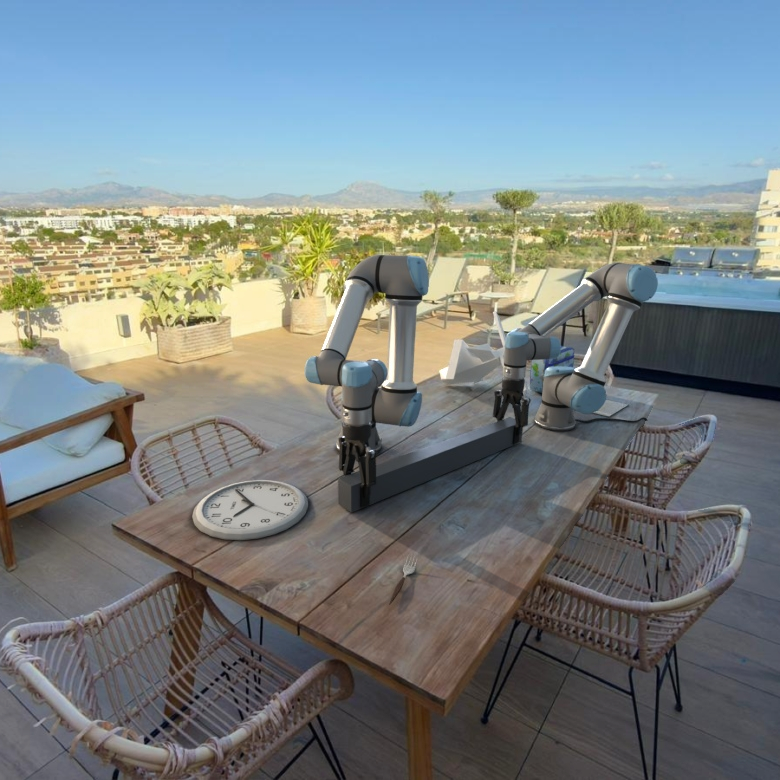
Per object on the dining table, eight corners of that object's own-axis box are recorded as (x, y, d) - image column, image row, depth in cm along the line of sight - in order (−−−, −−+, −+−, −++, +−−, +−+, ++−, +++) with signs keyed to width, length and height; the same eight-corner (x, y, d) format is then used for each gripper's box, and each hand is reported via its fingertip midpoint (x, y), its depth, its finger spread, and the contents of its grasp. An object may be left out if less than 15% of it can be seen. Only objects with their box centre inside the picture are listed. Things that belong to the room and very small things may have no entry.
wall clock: (304, 532, 127) (176, 536, 124) (304, 538, 127) (177, 542, 125) (311, 475, 155) (207, 478, 153) (311, 480, 156) (208, 483, 153)
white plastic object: (461, 429, 252) (437, 405, 227) (444, 352, 274) (420, 323, 250) (535, 404, 240) (518, 377, 215) (510, 326, 262) (492, 293, 237)
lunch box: (546, 398, 236) (551, 353, 229) (525, 393, 243) (529, 349, 237) (573, 387, 253) (579, 344, 247) (553, 382, 260) (558, 341, 254)
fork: (383, 605, 105) (383, 597, 105) (407, 560, 120) (408, 552, 119) (395, 608, 104) (395, 600, 104) (418, 562, 119) (419, 555, 118)
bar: (508, 437, 190) (509, 417, 188) (521, 441, 186) (523, 421, 183) (338, 504, 142) (337, 478, 140) (351, 512, 138) (351, 486, 136)
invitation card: (608, 416, 214) (573, 407, 224) (608, 416, 214) (573, 408, 224) (628, 404, 229) (594, 396, 238) (628, 405, 229) (594, 397, 238)
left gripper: (324, 415, 140) (326, 492, 147) (368, 436, 126) (368, 520, 133) (347, 409, 145) (347, 484, 152) (391, 429, 131) (390, 510, 138)
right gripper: (484, 373, 182) (480, 435, 189) (530, 386, 169) (524, 451, 176) (498, 370, 187) (493, 430, 194) (543, 381, 174) (537, 446, 181)
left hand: (357, 501), depth 142 cm, fingers closed on bar, 6 cm apart
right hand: (508, 440), depth 185 cm, fingers closed on bar, 6 cm apart
